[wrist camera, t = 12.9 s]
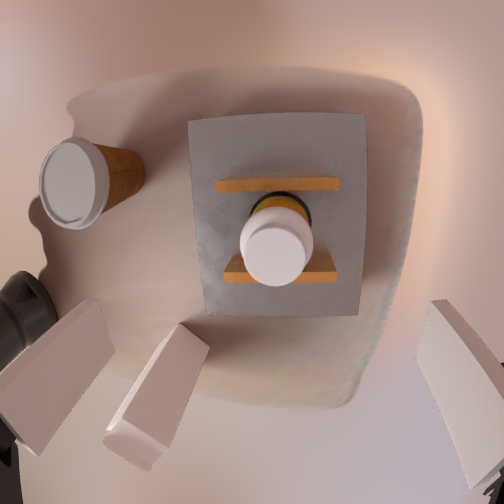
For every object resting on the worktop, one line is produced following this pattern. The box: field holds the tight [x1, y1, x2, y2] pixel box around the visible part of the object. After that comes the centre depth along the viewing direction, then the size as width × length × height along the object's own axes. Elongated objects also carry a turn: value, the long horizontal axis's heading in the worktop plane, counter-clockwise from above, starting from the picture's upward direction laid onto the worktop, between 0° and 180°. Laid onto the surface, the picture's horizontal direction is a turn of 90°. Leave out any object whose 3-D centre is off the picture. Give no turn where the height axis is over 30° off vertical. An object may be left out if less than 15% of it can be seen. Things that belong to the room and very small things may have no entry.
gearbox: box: [187, 112, 367, 317], centre depth 28 cm, size 17×21×10 cm
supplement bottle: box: [240, 196, 313, 286], centre depth 22 cm, size 5×5×10 cm
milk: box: [102, 323, 210, 473], centre depth 31 cm, size 6×6×22 cm
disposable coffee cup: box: [39, 137, 145, 230], centre depth 28 cm, size 10×10×12 cm
